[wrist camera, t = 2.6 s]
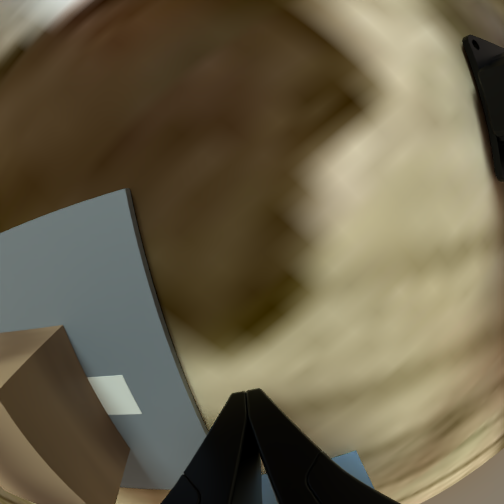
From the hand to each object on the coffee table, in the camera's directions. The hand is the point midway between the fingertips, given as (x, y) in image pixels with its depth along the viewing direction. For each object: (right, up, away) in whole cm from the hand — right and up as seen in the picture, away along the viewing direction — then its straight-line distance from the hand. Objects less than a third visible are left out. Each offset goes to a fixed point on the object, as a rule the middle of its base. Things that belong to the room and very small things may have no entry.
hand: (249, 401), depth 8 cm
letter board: (-8, -2, +1) cm, 9 cm away
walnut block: (-8, -2, +1) cm, 9 cm away
